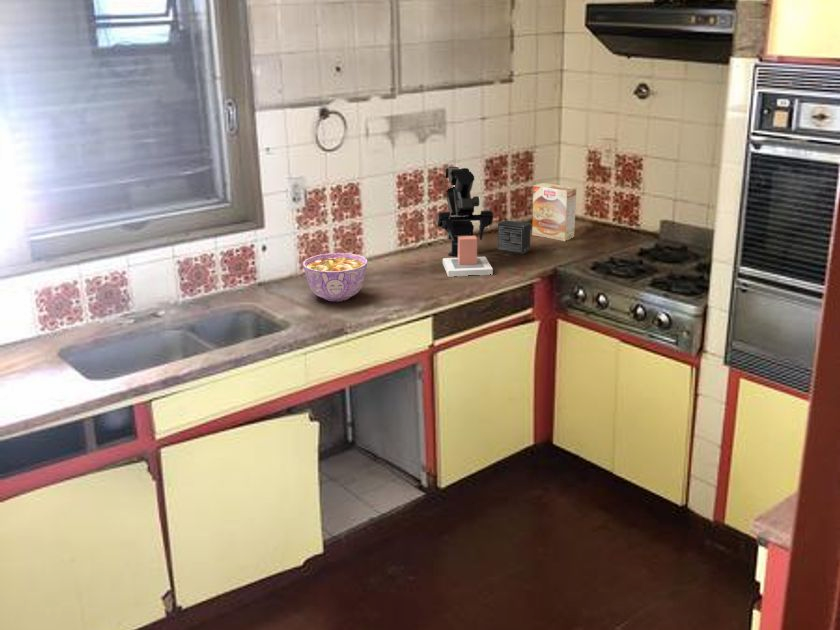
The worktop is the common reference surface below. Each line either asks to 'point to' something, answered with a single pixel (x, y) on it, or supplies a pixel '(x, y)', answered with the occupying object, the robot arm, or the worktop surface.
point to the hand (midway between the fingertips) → (467, 240)
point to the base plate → (467, 267)
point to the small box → (514, 237)
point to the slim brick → (467, 250)
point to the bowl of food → (335, 275)
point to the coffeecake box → (554, 211)
